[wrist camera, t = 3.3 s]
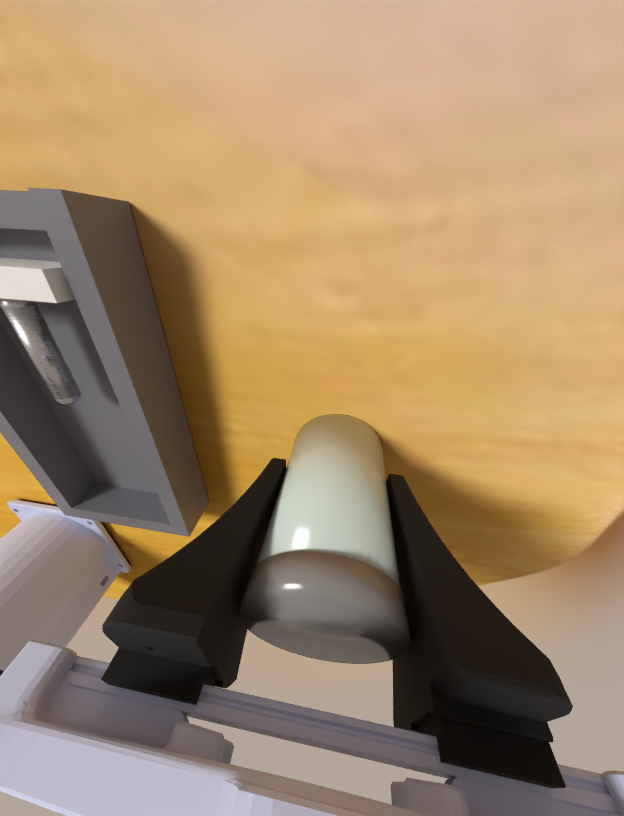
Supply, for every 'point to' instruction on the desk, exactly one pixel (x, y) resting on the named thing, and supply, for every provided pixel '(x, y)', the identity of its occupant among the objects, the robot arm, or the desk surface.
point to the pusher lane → (98, 371)
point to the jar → (330, 552)
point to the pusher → (38, 318)
